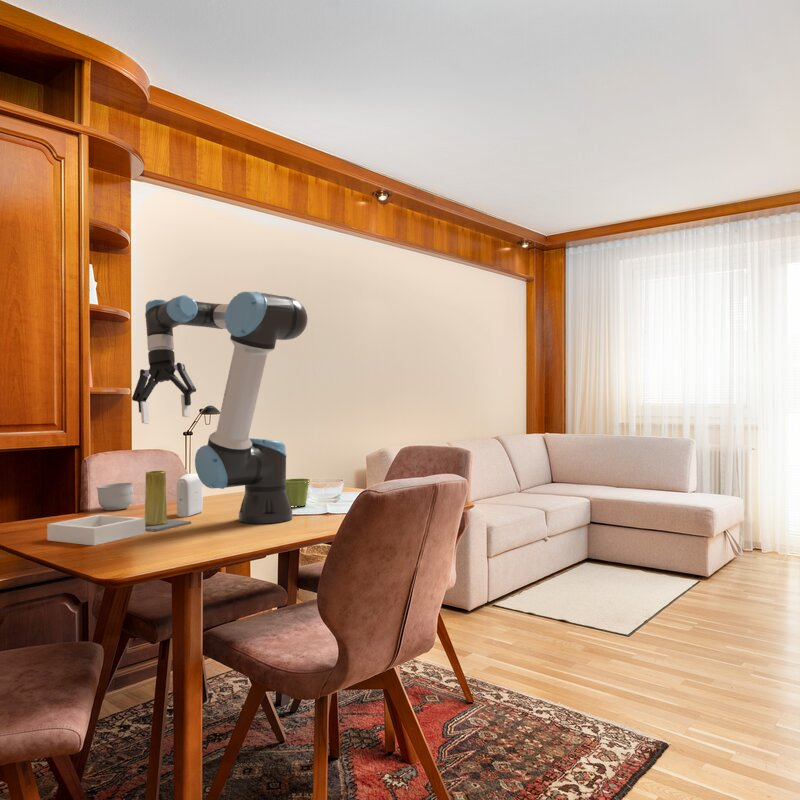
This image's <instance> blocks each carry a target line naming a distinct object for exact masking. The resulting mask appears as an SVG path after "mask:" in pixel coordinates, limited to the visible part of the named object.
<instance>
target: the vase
mask: <svg viewBox="0 0 800 800" xmlns="http://www.w3.org/2000/svg"><path fill="white" fill-rule="evenodd" d="M166 474H167V472H166V471H165V470H149V471H145V491H144V492H145V495H144V496H145V497H144V498H145V500H144V502H145V503H144V518H145V525H162V524H166V523H168V521H167V519H168V513H167V512H168V511H167V510H168V509H167V508H168V507H167V479H166Z"/></svg>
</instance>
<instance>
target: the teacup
mask: <svg viewBox="0 0 800 800" xmlns="http://www.w3.org/2000/svg"><path fill="white" fill-rule="evenodd" d="M96 489H97V499H98V500H97V501H98V504H99V506H100V507H101V508H102V509H104V510H105V511H118V510H124V509H125V510H126V509H127V508H129V507H130V505H131V504H132V503H133V502H134V483H133V482H119V483H107V484H103V485H102V484H101V485H98V486H97V487H96Z"/></svg>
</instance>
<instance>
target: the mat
mask: <svg viewBox="0 0 800 800" xmlns="http://www.w3.org/2000/svg"><path fill="white" fill-rule="evenodd" d="M167 521H168V523H166V524H162V525H145V532H146V531H148V532H160V531H164V530H169V529H174V528H178V527H182V526H187V525H190V524H192V521H191V520H189V521H188V520H178V519H176V520H175V519H168V518H167Z"/></svg>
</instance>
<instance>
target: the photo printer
mask: <svg viewBox="0 0 800 800" xmlns="http://www.w3.org/2000/svg"><path fill="white" fill-rule="evenodd" d="M203 485H204V484H203V483H202V482H201V481H200V479H199V477H198V474H197V473H186V474H183V475H182V476H181V477H180V478H179V479H178V480H177V482H176V516H177V517H179V518H188V517H189V516H194V515H196V514H200V513H202V512H203V511H204V510H203V509H204V507H203V506H204V504H203V503H204V502H203V501H204V499H203V498H204V497H203V495H204V494H203V491H204V490H203Z"/></svg>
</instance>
